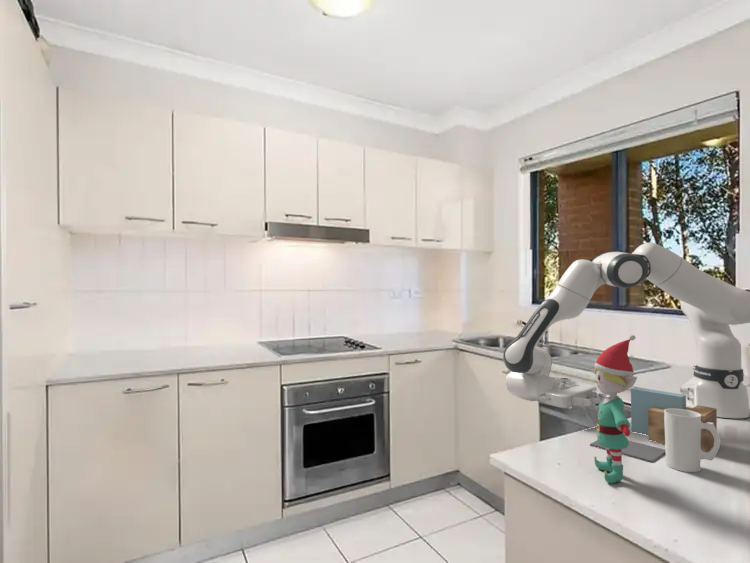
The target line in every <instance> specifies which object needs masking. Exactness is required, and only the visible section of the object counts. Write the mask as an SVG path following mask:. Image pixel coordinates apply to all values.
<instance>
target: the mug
mask: <svg viewBox="0 0 750 563" xmlns="http://www.w3.org/2000/svg"><path fill="white" fill-rule="evenodd" d="M664 425H665V446H664V447H665V448H664V449H665V452H666V454H665V463H666V464H665V465H666V466H668V467H669V468H671V469H673V470H675V471H679V472H685V473H698V472H700V471H701V461H702V460H707V461H713V460H714V458H715V457H716V455H717V453H718V451H719V450H720V447H721V438H720V434H719V432H718V429H717V430H716V428H715V426H714V423H710V422H706V423H702V422H701V414H699V413H697V412H694V411H690V410H684V409H665V410H664ZM701 429H707V430H709V431H710V432H711V433H712V435H713V437H714V445H713V448H712V449H710V450H709V451H708V452H703V451H702V450H701V446H700V445H701Z"/></svg>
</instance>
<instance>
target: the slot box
mask: <svg viewBox="0 0 750 563" xmlns="http://www.w3.org/2000/svg"><path fill="white" fill-rule="evenodd" d="M686 410H690V411H694V412H697V413H699V414H701V422H702V423H706V422H710V423H714V426H715V428H716V430H717V431H718V427H717V426H718V424H717V422H718V417H717V409H716V408H711V407H705V406H699V405H697V406H695V407H694V408H689V407H686ZM647 437H648V441H649V440H652V441H656V442H658V443H657V444H660V443H662V444H661V445H664V444H665V425H664V410H663V409H657V408H651V409H649V410H648V436H647ZM652 441H651V442H652ZM656 442H655V443H656ZM713 445H714V437H713V435H712V433H711V432H710V431H709V430H707V429H701V445H700V446H701V450H702V451H703V452H709V451H711V450H712V449H711V448H713Z"/></svg>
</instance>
